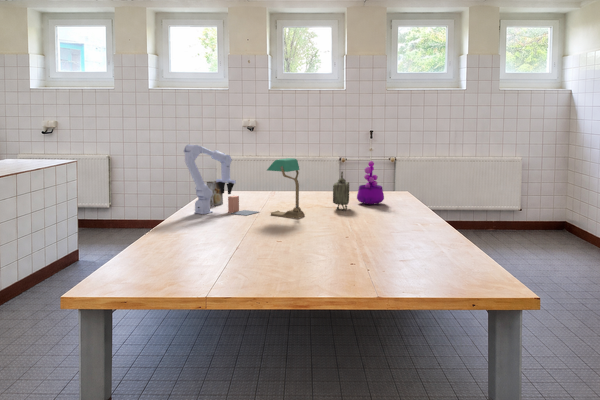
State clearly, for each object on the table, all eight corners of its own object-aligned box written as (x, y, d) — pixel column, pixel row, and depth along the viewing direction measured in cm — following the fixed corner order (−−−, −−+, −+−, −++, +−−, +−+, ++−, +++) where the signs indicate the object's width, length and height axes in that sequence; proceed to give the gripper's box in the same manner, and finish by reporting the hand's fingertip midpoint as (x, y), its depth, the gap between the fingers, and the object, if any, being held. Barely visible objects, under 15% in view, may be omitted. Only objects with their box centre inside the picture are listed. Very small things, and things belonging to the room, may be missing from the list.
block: (233, 212, 359) (233, 197, 358) (228, 212, 361) (228, 196, 360) (239, 211, 364) (238, 196, 363) (234, 210, 366) (233, 195, 365)
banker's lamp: (294, 219, 338) (294, 160, 332) (265, 216, 348) (265, 159, 343) (307, 215, 351) (307, 158, 346) (279, 212, 362) (279, 157, 356)
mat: (246, 215, 349) (246, 215, 349) (230, 213, 355) (230, 213, 355) (259, 212, 361) (259, 211, 361) (244, 210, 367) (244, 209, 367)
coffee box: (216, 203, 396) (216, 180, 393) (223, 204, 392) (222, 181, 389) (206, 204, 389) (206, 181, 386) (213, 205, 385) (213, 182, 382)
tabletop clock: (346, 211, 366) (347, 172, 362) (332, 210, 368) (333, 172, 364) (349, 207, 380) (349, 170, 376) (335, 207, 382) (336, 170, 378)
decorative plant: (376, 207, 383) (377, 162, 378) (352, 204, 393) (352, 161, 388) (388, 203, 398) (389, 160, 394) (364, 200, 408) (365, 159, 404)
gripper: (238, 173, 367) (238, 193, 369) (220, 171, 374) (221, 192, 376) (231, 174, 361) (232, 195, 363) (213, 172, 368) (214, 193, 370)
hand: (226, 193), depth 369 cm, fingers open, 5 cm apart
